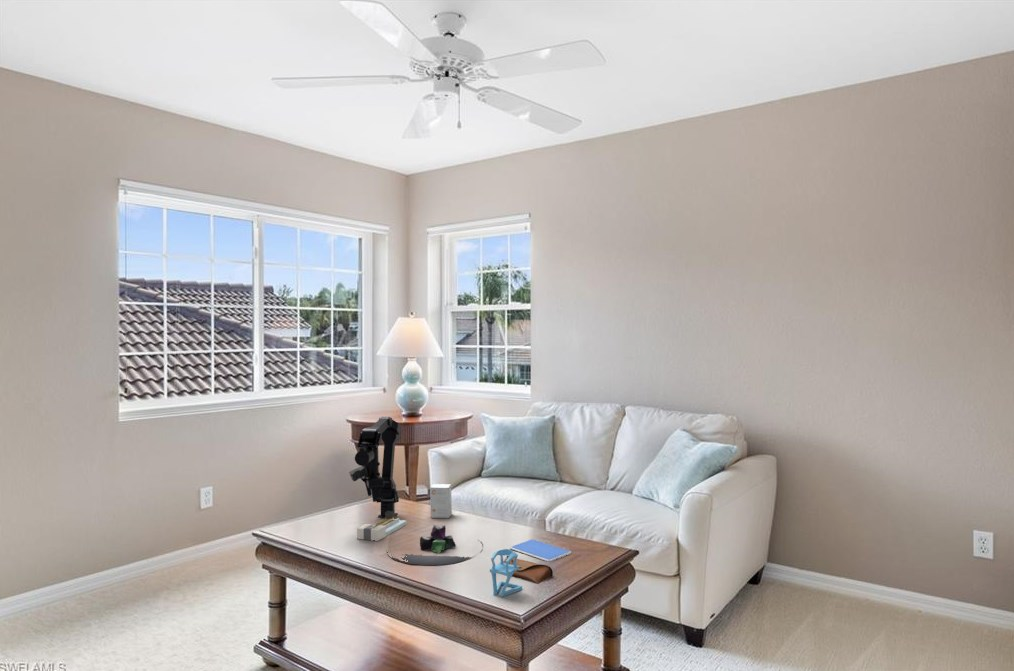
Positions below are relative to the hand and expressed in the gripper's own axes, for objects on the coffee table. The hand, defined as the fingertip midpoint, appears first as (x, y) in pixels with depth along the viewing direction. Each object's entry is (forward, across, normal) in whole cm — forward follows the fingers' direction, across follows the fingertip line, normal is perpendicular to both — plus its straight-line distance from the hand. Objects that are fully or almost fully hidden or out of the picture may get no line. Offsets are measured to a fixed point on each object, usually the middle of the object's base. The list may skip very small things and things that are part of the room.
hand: (372, 498), depth 251 cm
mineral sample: (+13, +33, +16) cm, 38 cm away
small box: (+13, -6, +31) cm, 34 cm away
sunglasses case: (+12, +69, +33) cm, 77 cm away
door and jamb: (+12, +4, +3) cm, 13 cm away
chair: (+11, +79, +23) cm, 83 cm away
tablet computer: (+12, +52, +48) cm, 72 cm away
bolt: (+11, +3, +4) cm, 12 cm away
